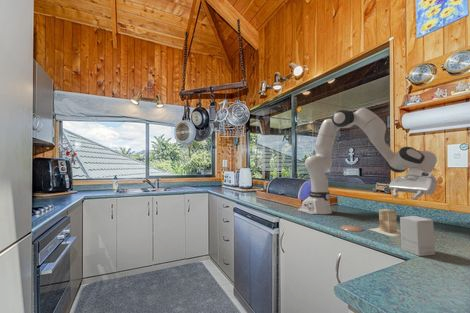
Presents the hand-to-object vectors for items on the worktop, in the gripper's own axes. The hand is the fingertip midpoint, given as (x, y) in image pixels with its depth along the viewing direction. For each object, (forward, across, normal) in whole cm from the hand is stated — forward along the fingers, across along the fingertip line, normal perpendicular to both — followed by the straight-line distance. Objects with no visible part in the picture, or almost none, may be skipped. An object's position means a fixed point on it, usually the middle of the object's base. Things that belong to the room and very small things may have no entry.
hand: (404, 197), depth 116 cm
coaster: (+28, -10, -6) cm, 30 cm away
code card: (+19, 0, +2) cm, 20 cm away
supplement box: (+29, +22, -7) cm, 37 cm away
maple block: (+19, 0, +2) cm, 19 cm away
